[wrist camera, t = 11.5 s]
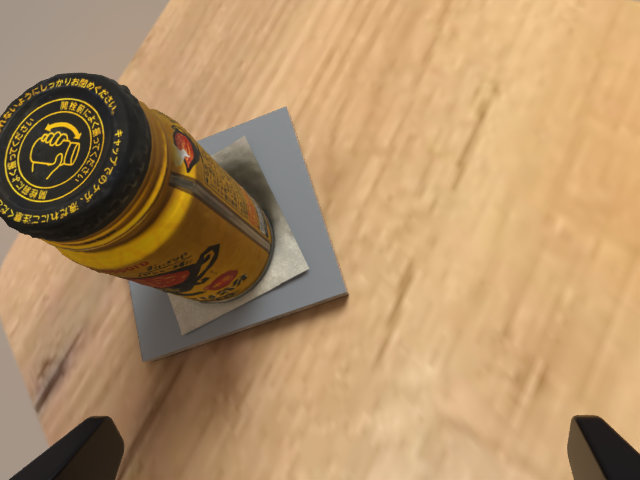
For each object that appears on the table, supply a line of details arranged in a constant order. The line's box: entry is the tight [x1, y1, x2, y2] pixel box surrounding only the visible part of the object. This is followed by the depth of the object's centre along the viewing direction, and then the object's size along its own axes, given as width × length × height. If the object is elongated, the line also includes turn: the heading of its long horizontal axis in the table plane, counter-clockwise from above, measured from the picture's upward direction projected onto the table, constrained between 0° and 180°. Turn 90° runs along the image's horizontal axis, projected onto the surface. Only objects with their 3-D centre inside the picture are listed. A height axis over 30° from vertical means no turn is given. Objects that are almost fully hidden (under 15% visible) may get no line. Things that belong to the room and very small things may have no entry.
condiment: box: [0, 73, 309, 335], centre depth 19 cm, size 7×8×12 cm
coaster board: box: [129, 107, 349, 362], centre depth 25 cm, size 11×11×1 cm
